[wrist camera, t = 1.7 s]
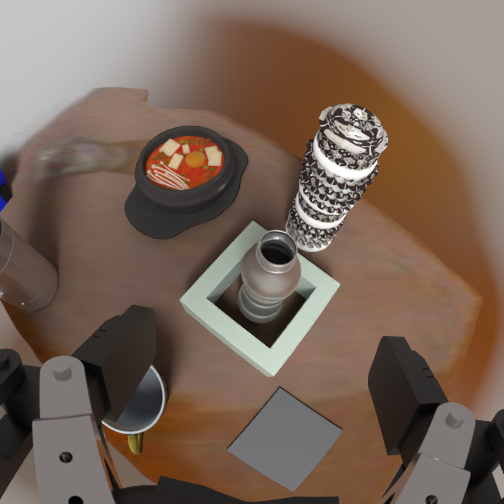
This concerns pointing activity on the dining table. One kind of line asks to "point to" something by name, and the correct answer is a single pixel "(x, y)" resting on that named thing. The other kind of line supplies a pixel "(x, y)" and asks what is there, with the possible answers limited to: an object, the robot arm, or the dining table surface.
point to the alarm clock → (3, 192)
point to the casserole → (184, 180)
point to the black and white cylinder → (334, 174)
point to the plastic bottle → (268, 276)
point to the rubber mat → (285, 440)
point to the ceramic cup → (142, 409)
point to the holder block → (232, 334)
